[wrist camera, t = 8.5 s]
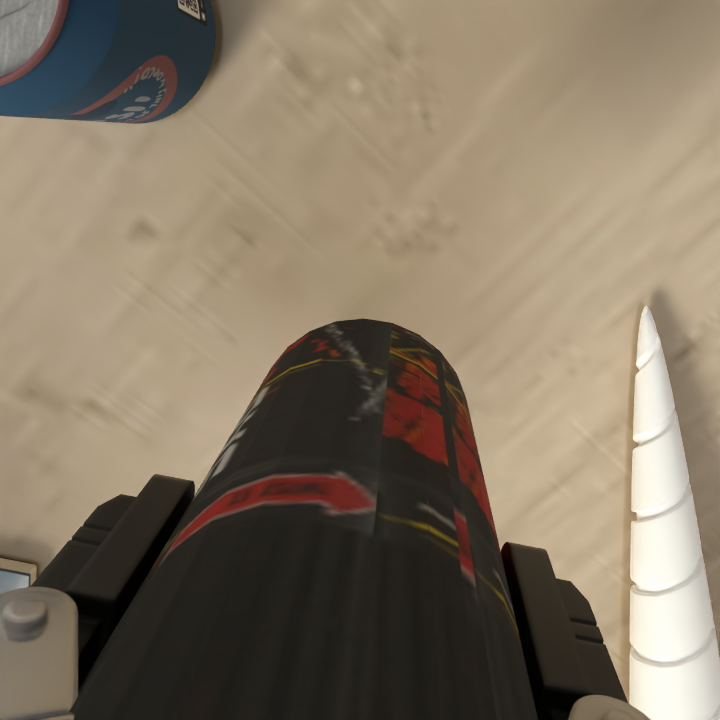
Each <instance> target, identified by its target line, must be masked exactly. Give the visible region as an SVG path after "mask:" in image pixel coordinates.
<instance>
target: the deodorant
mask: <svg viewBox="0 0 720 720" xmlns="http://www.w3.org/2000/svg"><path fill="white" fill-rule="evenodd" d="M69 712H75V715H74V720H538V717H537V713H536V708H535V704H534V699H533V695H532V690H531V686H530V682H529V677H528V673H527V668H526V664H525V659H524V655H523V650H522V646H521V641H520V637H519V632H518V628H517V624H516V619H515V615H514V610H513V606H512V601H511V597H510V592H509V588H508V583H507V579H506V574H505V570H504V566H503V561H502V557H501V552H500V548H499V543H498V539H497V534H496V530H495V525H494V521H493V517H492V512H491V508H490V503H489V499H488V494H487V490H486V485H485V481H484V476H483V472H482V467H481V463H480V459H479V454H478V450H477V445H476V441H475V436H474V432H473V427H472V423H471V418H470V414H469V409H468V405H467V401H466V397H465V394H464V392H463V389H462V386H461V384H460V381H459V379H458V376H457V374H456V372H455V371H454V369H453V368H452V367H451V365H450V364H449V363H448V361H447V360H446V359H445V357H444V356H443V355H442V353H441V352H440V351H439V350H438V349H436V348H435V347H434V346H433V345H431V344H430V343H429V342H427V341H426V340H425V339H424V338H422V337H421V336H420V335H419V334H416V333H414V332H412V331H409V330H407V329H405V328H402V327H400V326H398V325H396V324H393V323H389V322H382V321H376V320H369V319H356V320H346V321H336V322H333V323H331V324H328V325H325V326H323V327H320V328H317V329H315V330H312V331H310V332H308V333H307V334H305V335H304V336H303V337H301V338H300V339H298V340H297V341H296V342H294V343H293V344H291V345H290V346H289V347H287V349H286V350H285V351H284V352H283V354H282V355H281V356H280V358H279V359H278V360H277V361H276V363H275V364H274V365H273V366H272V368H271V369H270V371H269V373H268V374H267V376H266V378H265V379H264V381H263V383H262V384H261V386H260V388H259V389H258V391H257V393H256V394H255V396H254V398H253V399H252V401H251V403H250V404H249V406H248V408H247V409H246V411H245V413H244V414H243V416H242V418H241V419H240V421H239V423H238V424H237V426H236V428H235V429H234V431H233V433H232V434H231V436H230V438H229V439H228V441H227V443H226V444H225V446H224V448H223V449H222V451H221V453H220V454H219V456H218V458H217V459H216V461H215V463H214V464H213V466H212V468H211V469H210V471H209V473H208V474H207V476H206V478H205V480H204V481H203V483H202V485H201V486H200V488H199V490H198V491H197V493H196V495H195V496H194V498H193V500H192V501H191V503H190V505H189V506H188V508H187V510H186V511H185V513H184V515H183V516H182V518H181V520H180V521H179V523H178V525H177V526H176V528H175V530H174V531H173V533H172V535H171V536H170V538H169V540H168V541H167V543H166V545H165V546H164V548H163V550H162V551H161V553H160V555H159V556H158V558H157V560H156V561H155V563H154V565H153V566H152V568H151V570H150V571H149V573H148V575H147V576H146V578H145V580H144V581H143V583H142V585H141V586H140V588H139V590H138V591H137V593H136V595H135V596H134V598H133V600H132V601H131V603H130V605H129V606H128V608H127V610H126V611H125V613H124V615H123V616H122V618H121V620H120V621H119V623H118V625H117V626H116V628H115V630H114V631H113V633H112V635H111V636H110V638H109V640H108V641H107V643H106V645H105V646H104V648H103V650H102V651H101V653H100V655H99V656H98V658H97V660H96V661H95V663H94V665H93V666H92V668H91V670H90V671H89V673H88V675H87V676H86V678H85V680H84V681H83V683H82V685H81V687H80V688H79V690H78V697H77V699H76V701H75V702H74V704H73V706H72V707H71V709H70V711H69Z"/></svg>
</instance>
